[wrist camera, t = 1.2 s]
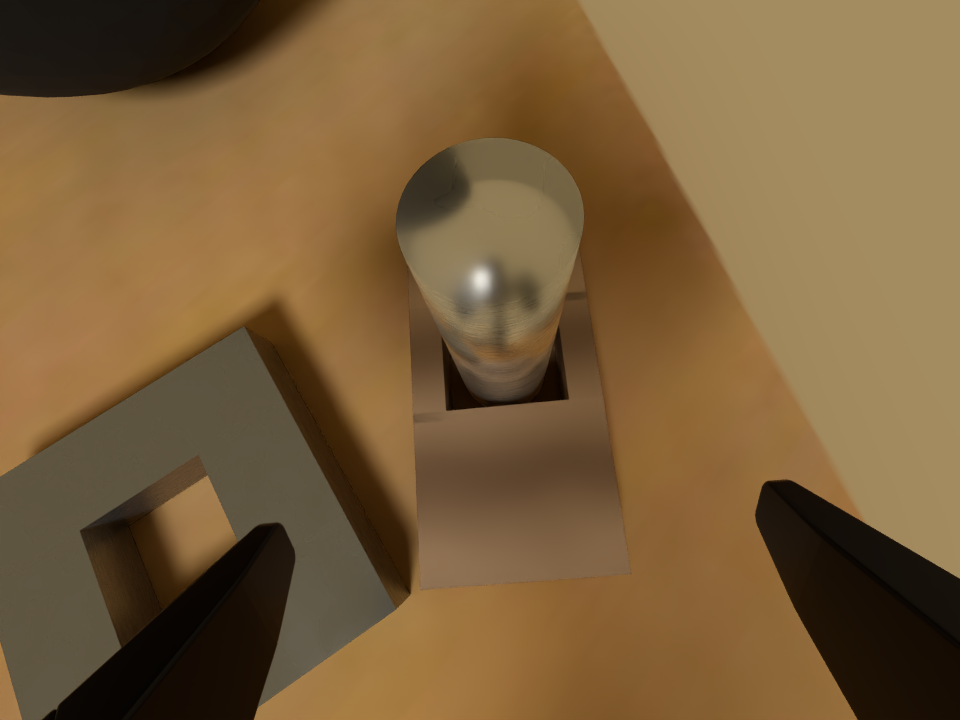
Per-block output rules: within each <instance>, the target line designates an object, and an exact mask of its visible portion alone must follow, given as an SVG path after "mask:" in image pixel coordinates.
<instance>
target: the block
mask: <svg viewBox="0 0 960 720" xmlns="http://www.w3.org/2000/svg"><path fill="white" fill-rule="evenodd" d="M207 475H208V476H209V479H210V481H211V483H212V485H213V487H214V490H215V492H216V494H217V496H218V498H219V501H220V503H221V505H222V507H223V509H224V511H225V514H226V516H227V518H228V520H229V522H230V525H231V527H232V529H233V531H234V533H235V536H236V538H237V540H238V542H239V541H240V540H241V539H242V538H243V537H244V536H245V535H246V534H248V533H249V532H250V531H251V530H252V529H253V528H254V527H256V526H257V525H259V524H262V523H274V522H278V523H281V524H282V525H283V526H284V528H285V530H286V532H287V534H288V537H289V539H290V541H291V543H292V545H293V547H294V550H295V556H296V558H295V566H294V570H293V575H292V580H291V584H290V589H289V594H288V598H287V603H286V608H285V613H284V617H283V622H282V627H281V631H280V635H279V640H278V644H277V647H276V651H275V654H274V658H273V661H272V664H271V667H270V670H269V673H268V677H267V680H266V683H265V686H264V689H263V692H262V695H261V699H260V702H259V705H258V707H259V706H261V705H262V704H263V703H265V702H266V701H268V700H269V699H270V698H272V697H273V696H275V695H276V694H277V693H279V692H280V691H282V690H283V689H285V688H286V687H287V686H289V685H290V684H292V683H293V682H294V681H296V680H297V679H299V678H300V677H301V676H303V675H304V674H306V673H307V672H309V671H310V670H311V669H313V668H314V667H316V666H317V665H318V664H320V663H321V662H323V661H324V660H325V659H327V658H328V657H330V656H331V655H332V654H334V653H335V652H337V651H338V650H340V649H341V648H342V647H344V646H345V645H347V644H348V643H349V642H351V641H352V640H354V639H355V638H356V637H358V636H359V635H361V634H362V633H364V632H365V631H366V630H368V629H369V628H371V627H372V626H373V625H375V624H376V623H378V622H379V621H380V620H382V619H383V618H385V617H386V616H388V615H389V614H390V613H392V612H393V611H395V610H396V609H397V608H398V607H399V606H400V605H401V604H402V603H403V602H404V601H405V600H406V599H407V598H408V597H409V596H410V593H409V591H408V589H407V587H406V586H405V584H404V582H403V580H402V578H401V576H400V575H399V573H398V571H397V569H396V567H395V566H394V564H393V562H392V560H391V558H390V557H389V555H388V553H387V551H386V549H385V547H384V546H383V544H382V542H381V540H380V538H379V537H378V535H377V533H376V531H375V529H374V528H373V526H372V524H371V522H370V520H369V518H368V517H367V515H366V513H365V511H364V509H363V508H362V506H361V504H360V502H359V500H358V499H357V497H356V495H355V493H354V491H353V489H352V488H351V486H350V484H349V482H348V480H347V479H346V477H345V475H344V473H343V471H342V469H341V468H340V466H339V464H338V462H337V460H336V459H335V457H334V455H333V453H332V451H331V450H330V448H329V446H328V444H327V442H326V440H325V439H324V437H323V435H322V433H321V431H320V430H319V428H318V426H317V424H316V422H315V421H314V419H313V417H312V415H311V413H310V411H309V410H308V408H307V406H306V404H305V402H304V401H303V399H302V397H301V395H300V393H299V391H298V390H297V388H296V386H295V384H294V382H293V381H292V379H291V377H290V375H289V373H288V372H287V370H286V368H285V366H284V364H283V362H282V361H281V359H280V357H279V355H278V353H277V352H276V350H275V348H274V346H273V344H272V343H271V342H269V341H268V340H266V339H264V338H263V337H261V336H259V335H258V334H256V333H254V332H253V331H251V330H249V329H248V328H246V327H244V326H243V327H242V328H240V329H239V330H237V331H235V332H234V333H232V334H230V335H229V336H227V337H226V338H224V339H222V340H221V341H219V342H217V343H216V344H214V345H213V346H211V347H209V348H208V349H206V350H205V351H203V352H201V353H200V354H198V355H196V356H195V357H193V358H192V359H190V360H188V361H187V362H185V363H184V364H182V365H180V366H179V367H177V368H175V369H174V370H172V371H171V372H169V373H167V374H166V375H164V376H162V377H161V378H159V379H158V380H156V381H154V382H153V383H151V384H150V385H148V386H146V387H145V388H143V389H141V390H140V391H138V392H137V393H135V394H133V395H132V396H130V397H128V398H127V399H125V400H124V401H122V402H120V403H119V404H117V405H116V406H114V407H112V408H111V409H109V410H107V411H106V412H104V413H103V414H101V415H99V416H98V417H96V418H95V419H93V420H91V421H90V422H88V423H86V424H85V425H83V426H82V427H80V428H78V429H77V430H75V431H73V432H72V433H70V434H69V435H67V436H65V437H64V438H62V439H61V440H59V441H57V442H56V443H54V444H52V445H51V446H49V447H48V448H46V449H44V450H43V451H41V452H39V453H38V454H36V455H35V456H33V457H31V458H30V459H28V460H27V461H25V462H23V463H22V464H20V465H18V466H17V467H15V468H14V469H12V470H10V471H9V472H7V473H6V474H4V475H2V476H1V477H0V642H1V646H2V649H3V653H4V656H5V660H6V663H7V667H8V671H9V674H10V678H11V681H12V685H13V688H14V692H15V695H16V699H17V702H18V706H19V710H20V713H21V717H22V720H42V719H43V718H44V717H45V716H46V715H47V714H48V713H49V712H50V711H52V710H54V709H57V707H58V705H59V704H60V703H61V702H62V701H63V700H64V699H65V698H66V697H67V696H68V695H69V694H71V693H72V692H73V691H74V690H75V689H76V688H77V687H78V686H79V685H81V684H82V683H83V682H84V681H85V680H86V679H87V678H88V677H89V676H90V675H92V674H93V673H94V672H95V671H96V670H97V669H98V668H99V667H100V666H102V665H103V664H104V663H105V662H106V661H107V660H108V659H109V658H110V657H112V656H113V655H114V654H115V653H116V652H117V651H118V650H119V649H120V648H121V647H123V646H124V645H125V644H126V643H127V642H128V641H129V640H130V639H131V638H133V637H134V636H135V635H136V634H137V633H138V632H139V631H140V630H141V629H142V628H144V627H145V626H146V625H147V624H148V623H149V622H150V621H151V620H152V619H154V618H155V617H156V616H157V615H158V614H159V613H160V612H161V609H160V606H159V604H158V601H157V598H156V596H155V593H154V591H153V588H152V586H151V583H150V580H149V578H148V575H147V573H146V570H145V568H144V565H143V562H142V560H141V557H140V555H139V552H138V549H137V547H136V544H135V542H134V539H133V537H132V534H131V531H130V529H129V525H131V524H132V523H134V522H135V521H137V520H139V519H140V518H142V517H143V516H145V515H146V514H148V513H149V512H151V511H152V510H154V509H156V508H157V507H159V506H160V505H162V504H163V503H165V502H166V501H168V500H169V499H171V498H173V497H174V496H176V495H177V494H179V493H180V492H182V491H183V490H185V489H186V488H188V487H190V486H191V485H193V484H194V483H196V482H197V481H199V480H200V479H202V478H203V477H205V476H207Z"/></svg>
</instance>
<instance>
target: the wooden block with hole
mask: <svg viewBox="0 0 960 720" xmlns="http://www.w3.org/2000/svg"><path fill="white" fill-rule="evenodd" d="M404 190H405V189H404ZM407 269H408V294H409V319H410V344H411V369H412V394H413V419H414V444H415V469H416V494H417V518H418V543H419V568H420V590H426V589H439V588H453V587H466V586H480V585H493V584H507V583H520V582H534V581H547V580H560V579H574V578H587V577H601V576H614V575H628V574H631V568H630V562H629V556H628V550H627V543H626V537H625V531H624V525H623V518H622V512H621V506H620V500H619V493H618V487H617V481H616V475H615V468H614V462H613V456H612V449H611V443H610V437H609V431H608V424H607V418H606V412H605V406H604V399H603V393H602V387H601V381H600V374H599V368H598V362H597V356H596V349H595V343H594V337H593V331H592V324H591V318H590V312H589V306H588V299H587V293H586V287H585V281H584V274H583V268H582V262H581V255H580V249H579V248H578V252H577V256H576V259H575V263H574V267H573V271H572V275H571V278H570V282H569V286H568V290H567V294H566V298H565V301H564V305H563V309H562V313H561V317H560V320H559V324H558V328H557V332H556V336H555V340H554V345H555V352H556V360H557V367H558V375H559V382H560V390H561V397H562V400H559V401H548V402H537V403H527V404H516V405H505V406H494V407H484V408H473V409H462V410H453V402H452V387H451V372H450V356H449V350H448V348H447V346H446V344H445V342H444V340H443V337H442V335H441V333H440V331H439V329H438V327H437V325H436V323H435V321H434V319H433V317H432V314H431V312H430V310H429V308H428V306H427V304H426V302H425V300H424V298H423V296H422V294H421V291H420V289H419V287H418V285H417V283H416V281H415V279H414V277H413V275H412V273H411V271H410V268H409V266H408V264H407Z"/></svg>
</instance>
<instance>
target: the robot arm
mask: <svg viewBox="0 0 960 720" xmlns="http://www.w3.org/2000/svg"><path fill="white" fill-rule="evenodd" d="M755 518H756V523H757V526H758V528H759V530H760V533H761V535H762V537H763V539H764V542H765V544H766V546H767V548H768V551H769V553H770V555H771V557H772V560H773V562H774V564H775V566H776V568H777V571H778V573H779V575H780V577H781V580H782V582H783V584H784V586H785V589H786V591H787V593H788V595H789V597H790V599H791V602H792V604H793V606H794V608H795V610H796V612H797V613H798V615H799V617H800V619H801V621H802V623H803V624H804V626H805V628H806V630H807V631H808V633H809V635H810V637H811V639H812V640H813V642H814V644H815V646H816V647H817V649H818V651H819V653H820V654H821V656H822V658H823V660H824V661H825V663H826V665H827V667H828V668H829V670H830V672H831V674H832V675H833V677H834V679H835V681H836V682H837V684H838V686H839V688H840V689H841V691H842V693H843V695H844V696H845V698H846V700H847V702H848V703H849V705H850V707H851V709H852V710H853V712H854V714H855V716H856V717H857V719H858V720H960V579H959V578H958V577H956V576H954V575H952V574H951V573H949V572H947V571H946V570H944V569H942V568H941V567H939V566H937V565H935V564H934V563H932V562H930V561H929V560H927V559H925V558H923V557H922V556H920V555H918V554H917V553H915V552H913V551H912V550H910V549H908V548H906V547H905V546H903V545H901V544H899V543H898V542H896V541H894V540H893V539H891V538H889V537H888V536H886V535H884V534H882V533H881V532H879V531H877V530H876V529H874V528H872V527H871V526H869V525H867V524H865V523H864V522H862V521H860V520H859V519H857V518H855V517H853V516H852V515H850V514H848V513H847V512H845V511H843V510H841V509H840V508H838V507H836V506H835V505H833V504H831V503H829V502H828V501H826V500H824V499H823V498H821V497H819V496H818V495H816V494H814V493H812V492H811V491H809V490H807V489H806V488H804V487H802V486H800V485H799V484H797V483H795V482H793V481H791V480H773V481H767V482H765V483H764V484H763V486H762V489H761V493H760V496H759V500H758V504H757V508H756V513H755ZM295 558H296V556H295V550H294V547H293V545H292V543H291V541H290V539H289V537H288V534H287V532H286V530H285V528H284V526H283V525H282V524H281V523H278V522H274V523H262V524H259V525H257V526H256V527H254V528H253V529H252V530H251V531H250V532H249V533H248V534H246V535H245V536H244V537H243V538H242V539H241V540H240V541H239V542H238V543H237V544H235V545H234V546H233V547H232V548H231V549H230V550H229V551H228V552H227V553H225V554H224V555H223V556H222V557H221V558H220V559H219V560H218V561H217V562H215V563H214V564H213V565H212V566H211V567H210V568H209V569H208V570H207V571H206V572H204V573H203V574H202V575H201V576H200V577H199V578H198V579H197V580H196V581H194V582H193V583H192V584H191V585H190V586H189V587H188V588H187V589H186V590H185V591H183V592H182V593H181V594H180V595H179V596H178V597H177V598H176V599H175V600H173V601H172V602H171V603H170V604H169V605H168V606H167V607H166V608H165V609H163V610H162V611H161V612H160V613H159V614H158V615H157V616H156V617H155V618H154V619H152V620H151V621H150V622H149V623H148V624H147V625H146V626H145V627H144V628H142V629H141V630H140V631H139V632H138V633H137V634H136V635H135V636H134V637H133V638H131V639H130V640H129V641H128V642H127V643H126V644H125V645H124V646H123V647H121V648H120V649H119V650H118V651H117V652H116V653H115V654H114V655H113V656H112V657H110V658H109V659H108V660H107V661H106V662H105V663H104V664H103V665H102V666H100V667H99V668H98V669H97V670H96V671H95V672H94V673H93V674H92V675H90V676H89V677H88V678H87V679H86V680H85V681H84V682H83V683H82V684H81V685H79V686H78V687H77V688H76V689H75V690H74V691H73V692H72V693H71V694H69V695H68V696H67V697H66V698H65V699H64V700H63V701H62V702H61V703H60V704H59V705H58V707H57V709H54V710H52V711H50V712H49V713H48V714H47V715H46V716H45V717H44V718H43V719H42V720H254V717H255V714H256V711H257V708H258V705H259V702H260V699H261V695H262V692H263V689H264V686H265V683H266V680H267V677H268V673H269V670H270V667H271V664H272V661H273V658H274V654H275V651H276V647H277V644H278V640H279V635H280V631H281V627H282V622H283V617H284V613H285V608H286V603H287V598H288V594H289V589H290V584H291V580H292V575H293V570H294V566H295Z"/></svg>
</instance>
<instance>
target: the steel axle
mask: <svg viewBox="0 0 960 720" xmlns="http://www.w3.org/2000/svg"><path fill="white" fill-rule="evenodd" d="M583 227H584V206H583V202H582V197H581V194H580V191H579V189H578V186H577V184H576V183H575V181H574V179H573V177H572V176H571V174H570V173H569V172H568V171H567V169H566V168H565V167H564V166H563V165H562V164H561V163H560V162H559V161H558V160H557V159H556V158H554V157H553V156H552V155H550V154H549V153H547V152H545V151H544V150H542V149H540V148H538V147H536V146H534V145H531V144H529V143H526V142H522V141H519V140H513V139H507V138H481V139H475V140H470V141H466V142H462V143H459V144H457V145H454V146H452V147H449V148H447V149H445V150H443V151H442V152H440V153H438V154H437V155H435V156H434V157H432V158H431V159H429V160H428V161H427V162H426V163H425V164H424V165H422V166H421V167H420V168H419V170H418V171H417V172H416V173H415V174H414V175H413V177H412V178H411V179H410V181H409V182H408V184H407V186H406V188H405V190H404V191H403V193H402V196H401V199H400V202H399V205H398V210H397V216H396V231H397V238H398V242H399V246H400V248H401V251H402V253H403V256H404V258H405V260H406V262H407V264H408V266H409V268H410V271H411V273H412V275H413V277H414V279H415V281H416V283H417V285H418V287H419V289H420V291H421V294H422V296H423V298H424V300H425V302H426V304H427V306H428V308H429V310H430V312H431V314H432V317H433V319H434V321H435V323H436V325H437V327H438V329H439V331H440V333H441V335H442V337H443V340H444V342H445V344H446V346H447V348H448V350H449V352H450V354H451V356H452V358H453V360H454V363H455V365H456V367H457V369H458V371H459V373H460V375H461V377H462V379H463V381H464V383H465V386H466V388H467V389H468V391H469V393H470V394H471V395H472V397H473V398H474V399H475V400H476V401H477V402H479V403H480V404H482V405H483V406H485V407H494V406H505V405H516V404H527V403H529V402H530V401H531V400H532V399H533V398H534V397H535V396H536V395H537V394H538V392H539V391H540V389H541V387H542V384H543V381H544V378H545V374H546V370H547V366H548V362H549V359H550V355H551V351H552V347H553V343H554V340H555V336H556V332H557V328H558V324H559V320H560V317H561V313H562V309H563V305H564V301H565V298H566V294H567V290H568V286H569V282H570V278H571V275H572V271H573V267H574V263H575V259H576V256H577V252H578V248H579V244H580V240H581V236H582V232H583Z"/></svg>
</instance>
